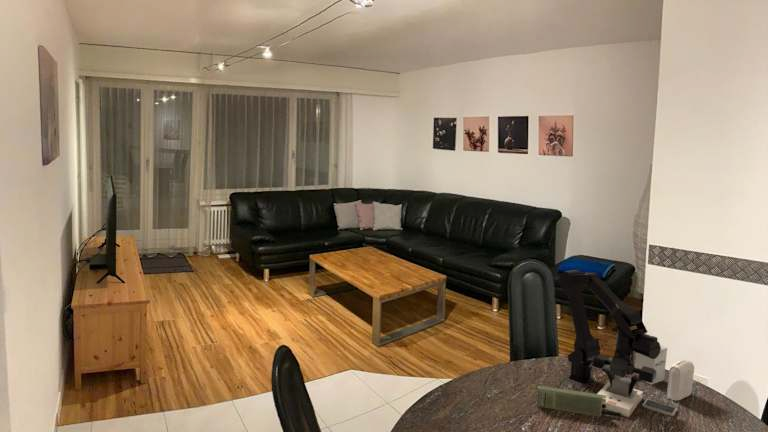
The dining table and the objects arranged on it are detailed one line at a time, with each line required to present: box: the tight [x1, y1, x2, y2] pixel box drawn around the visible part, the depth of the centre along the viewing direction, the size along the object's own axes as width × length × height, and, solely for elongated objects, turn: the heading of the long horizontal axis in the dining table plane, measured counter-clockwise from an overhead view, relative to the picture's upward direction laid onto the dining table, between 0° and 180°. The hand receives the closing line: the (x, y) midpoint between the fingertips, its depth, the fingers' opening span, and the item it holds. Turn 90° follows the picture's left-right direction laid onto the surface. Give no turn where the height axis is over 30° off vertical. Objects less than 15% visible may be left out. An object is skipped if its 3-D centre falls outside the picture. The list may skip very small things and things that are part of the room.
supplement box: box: [634, 344, 668, 386], centre depth 186 cm, size 7×7×13 cm
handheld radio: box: [536, 385, 622, 418], centre depth 163 cm, size 7×3×25 cm
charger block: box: [611, 375, 631, 398], centre depth 172 cm, size 5×5×6 cm
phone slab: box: [642, 398, 678, 418], centre depth 166 cm, size 5×9×1 cm, turn 50°
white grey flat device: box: [597, 380, 644, 418], centre depth 170 cm, size 11×16×3 cm
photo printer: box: [666, 359, 695, 402], centre depth 174 cm, size 10×4×12 cm, turn 123°
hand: (621, 391), depth 172 cm, fingers closed on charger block, 5 cm apart
